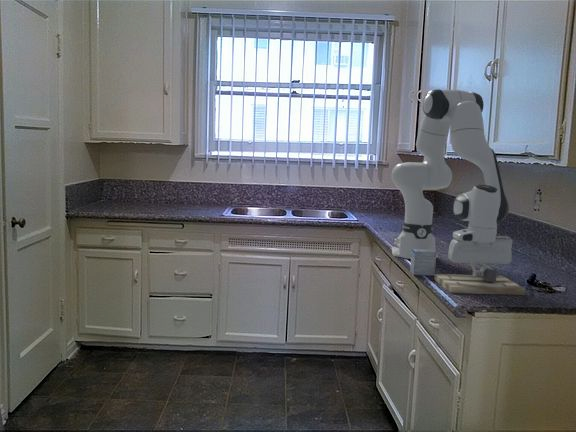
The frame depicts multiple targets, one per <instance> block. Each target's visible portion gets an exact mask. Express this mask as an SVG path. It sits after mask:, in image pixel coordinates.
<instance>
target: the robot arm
mask: <svg viewBox="0 0 576 432" xmlns="http://www.w3.org/2000/svg"><path fill="white" fill-rule="evenodd" d="M484 105H485V104H484V100H483V97H482V96H481V95H480V93H479V94H478V93H476V92H473V91H466V90H461V89H440V88H439V89H431V90H429V91H428V92H427V93H426V95H425V96H424V98H423V101H422V111H423V113H424V115H423V117H422V120H421V123H420V126H419V130H418V134H417V137H416V142H415V146H416V147H415V148H416V150H417V151H418V153H419V154H421V155H423V161H422V162H414V161H413V162H411V161H409V162H408V161H407V162H402V163H397V164H396V165H395V166H394V167H393V168H392V171H391V176H390V177H391V181H392V182H391V183H393V185H394V186H395V187H396V188H397V189H398V190H399V192H400V193H401V195H402V197H403V201H404V221H403V223H402V231H401V232H400V234H399V235H398V237H397V238H394V239H393V240H394V242H393V244H394V245H396V246H391V252H392V253H391V254H392V256H393V257H398V258H403V259H408V260H411V253H412V249H420V250H433V251H435V252H436V237H435V236H434V235H433V230H434V224H433V214H434V205H433V204H432V203H433V202H431V201H430V200H428V199H427V198H425V195H424V192H423V191H424V190H426V191H427V190H429V191H430V190H431V191H437V190H442V189H446V188H448V187H449V186H450V184H451V182H452V181H453V171H452V170H451V168H450V167H449V166H448V165H447V163H446V160H445V149H446V145H447V140H448V135H449V134H450V144H451V148H452V151H453V152H454V153H455V154H456V155H457V156H458V157H460V158H461V159H463V160H464V161H465V160H466V161H468V162H470V163H472V164H474V165H476V166H477V167H478V168H479V170H481V171H482V175H483V178H484V179H483V181H484V183H485V184H477V185H474V186H473V188H472V189H471V190H469V191H467V192H462V193H460V194H458V195H457V196H456V197H455V198H454V200H453V202H452V214H453V215H454V216H455V217H456V218H457V220H460V221H463V222H468V226H467V227H466V228H464V229H460V230H455V231H453V233H452V238H453V239H451V241H450V243H449V247H448V251H447V258H448V260H449V261H450V262H451V263H459V264H469V265H470V268H471V269H472V275H473V276H475V277H476V276H477V277H483V272H484V271H485V270H486V268H487V267H488V266H489V265H488V264H490V265H510V264H511V262H512V260H513V259H512V254H513V253H512V247H513V239H512V238H511V237H509V236H508V235H497V232H498V224H499V223H500V222H502V221H503V220H504V219H505V218H506V217H507V216H508V214H509V210H510V207H509V202H508V199H507V196H506V194H505V191H504V186H503V182H502V176H501V173H500V172H501V171H500V168H499V163H498V159H497V154H496V153H495V151H494V149H493V148H491V147H490V145H489V143H488V141H487V139H486V136H485V125H484V118H483V110H484ZM449 132H450V133H449ZM438 258H439V254H437V255H436V259H438ZM478 264H480V266H481V267H480V269H476V267H477V266H478Z"/></svg>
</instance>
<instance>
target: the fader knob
mask: <svg viewBox="0 0 576 432" xmlns="http://www.w3.org/2000/svg"><path fill="white" fill-rule="evenodd" d="M496 276H498V270H497V269H495V268H494V267H492V266H489V265H488V267H487V268H486V270H485V271H484V272H483V277H481V278H482V279H483V280H485V281H487V282H496Z"/></svg>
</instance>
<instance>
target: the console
mask: <svg viewBox="0 0 576 432" xmlns="http://www.w3.org/2000/svg"><path fill="white" fill-rule="evenodd" d="M433 281H436V282H437V284H439V285H440V286H442V287H443V288H444V289H445V290H446V291H447V292H449V293H451V294H477V295H479V294H480V295H484V294H485V295H510V296H511V295H512V296H513V295H518V296H525V295H526V288H525V287H523V286H521V285H520V284H518V283H516V282H514V281H512V280H511V279H509V278H508V277H507V278H506V277H505V276H503V275H497V276H496V282H487V281H485V280H483V279H482V278H481V277H477V276H476V277H475V276H473V274H456V273H455V274H454V273H450V274H449V273H435V274H434V276H433Z"/></svg>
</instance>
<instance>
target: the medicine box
mask: <svg viewBox="0 0 576 432" xmlns="http://www.w3.org/2000/svg"><path fill="white" fill-rule="evenodd" d="M436 255H438V253H437V252H436V250H435V251H433V250H420V249H412V253H411V259H410V268H409V272H410V273H411V275H412V276H430V277H431V276H433V277H434V274H436V263H437V258H436Z"/></svg>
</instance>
